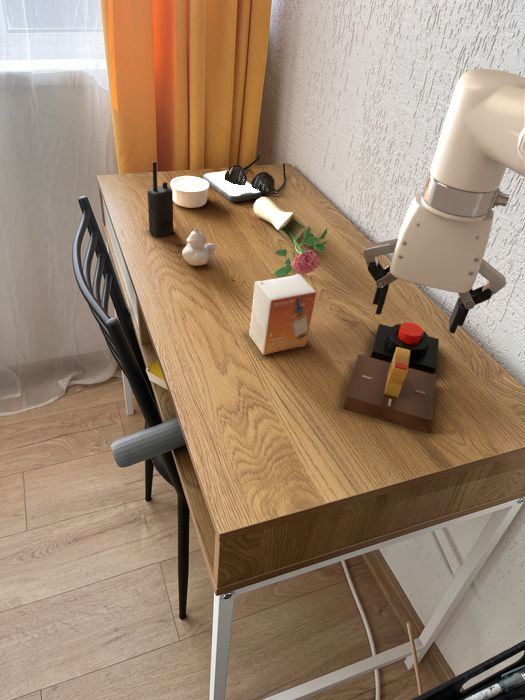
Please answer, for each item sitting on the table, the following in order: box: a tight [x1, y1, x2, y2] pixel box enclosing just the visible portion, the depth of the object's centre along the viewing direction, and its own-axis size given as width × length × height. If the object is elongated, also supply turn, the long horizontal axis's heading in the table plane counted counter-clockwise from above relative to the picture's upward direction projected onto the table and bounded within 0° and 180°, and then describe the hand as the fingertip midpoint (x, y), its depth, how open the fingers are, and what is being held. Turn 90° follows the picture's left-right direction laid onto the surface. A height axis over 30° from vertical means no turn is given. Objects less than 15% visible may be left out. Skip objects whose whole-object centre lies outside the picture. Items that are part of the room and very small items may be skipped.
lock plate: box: [342, 353, 437, 433], centre depth 77 cm, size 12×10×3 cm
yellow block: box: [384, 347, 410, 398], centre depth 74 cm, size 5×2×5 cm, turn 163°
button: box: [398, 321, 424, 345], centre depth 83 cm, size 4×4×2 cm
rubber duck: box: [181, 225, 217, 267], centre depth 100 cm, size 5×7×8 cm
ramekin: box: [170, 175, 210, 209], centre depth 122 cm, size 9×9×4 cm
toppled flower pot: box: [252, 196, 330, 277], centre depth 105 cm, size 12×12×35 cm
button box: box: [369, 323, 440, 375], centre depth 85 cm, size 10×8×4 cm
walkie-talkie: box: [147, 160, 174, 237], centre depth 106 cm, size 5×3×15 cm
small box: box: [248, 273, 317, 356], centre depth 82 cm, size 8×6×10 cm
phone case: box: [202, 170, 262, 203], centre depth 131 cm, size 9×2×16 cm
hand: (414, 318), depth 70 cm, fingers open, 9 cm apart
